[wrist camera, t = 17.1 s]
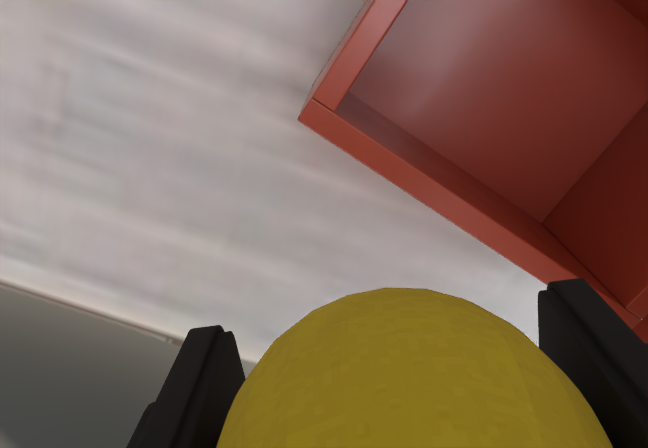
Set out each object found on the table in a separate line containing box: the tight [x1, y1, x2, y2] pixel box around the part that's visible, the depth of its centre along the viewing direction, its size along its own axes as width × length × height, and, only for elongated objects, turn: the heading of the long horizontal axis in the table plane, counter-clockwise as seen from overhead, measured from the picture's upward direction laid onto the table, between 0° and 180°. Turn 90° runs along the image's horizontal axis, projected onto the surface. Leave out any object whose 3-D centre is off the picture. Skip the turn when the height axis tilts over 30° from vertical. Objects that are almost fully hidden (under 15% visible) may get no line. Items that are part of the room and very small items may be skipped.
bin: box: [298, 0, 648, 329], centre depth 22 cm, size 15×12×10 cm
